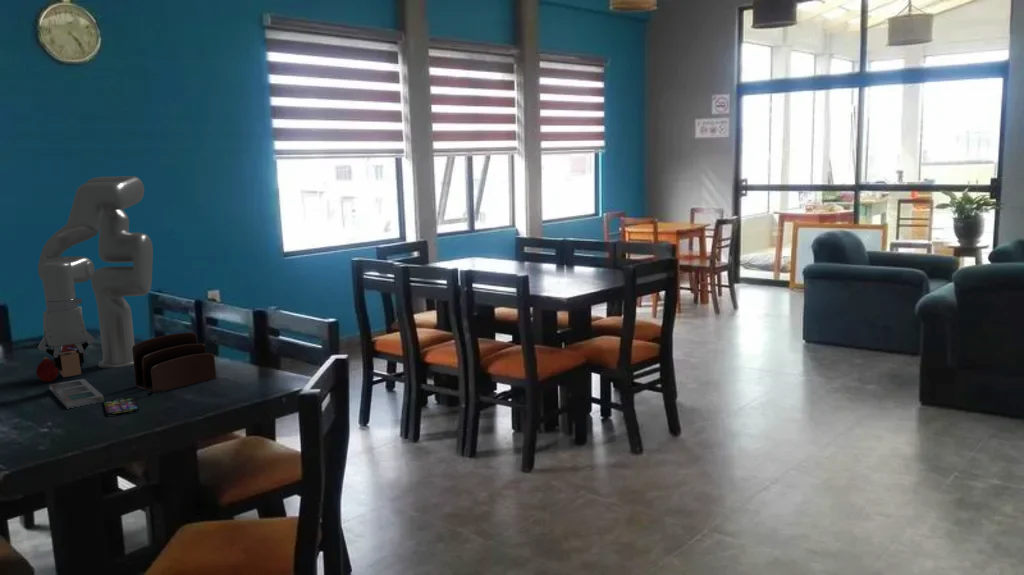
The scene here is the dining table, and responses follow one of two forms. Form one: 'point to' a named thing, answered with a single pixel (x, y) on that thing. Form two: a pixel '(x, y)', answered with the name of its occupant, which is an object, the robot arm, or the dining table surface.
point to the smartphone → (121, 406)
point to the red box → (69, 348)
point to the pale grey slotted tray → (76, 393)
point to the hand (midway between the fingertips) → (69, 367)
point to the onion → (47, 370)
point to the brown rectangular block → (70, 364)
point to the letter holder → (172, 362)
